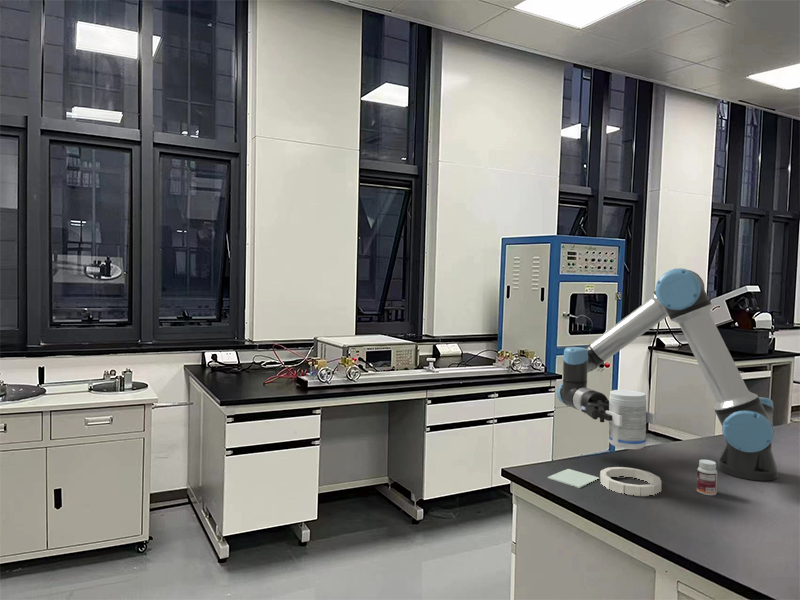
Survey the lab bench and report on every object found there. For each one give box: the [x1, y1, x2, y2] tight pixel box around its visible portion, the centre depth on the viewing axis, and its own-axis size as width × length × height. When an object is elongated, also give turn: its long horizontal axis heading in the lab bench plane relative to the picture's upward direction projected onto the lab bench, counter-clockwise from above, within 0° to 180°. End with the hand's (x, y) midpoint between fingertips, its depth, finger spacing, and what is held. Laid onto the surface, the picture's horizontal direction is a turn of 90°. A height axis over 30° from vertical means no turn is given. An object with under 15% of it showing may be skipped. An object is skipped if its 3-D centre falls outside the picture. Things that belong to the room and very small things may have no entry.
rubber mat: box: [547, 468, 600, 489], centre depth 161 cm, size 10×11×1 cm
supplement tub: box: [608, 389, 647, 450], centre depth 156 cm, size 10×10×15 cm
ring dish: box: [599, 466, 663, 497], centre depth 157 cm, size 16×16×2 cm
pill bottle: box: [696, 459, 718, 496], centre depth 152 cm, size 5×5×8 cm
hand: (637, 420), depth 152 cm, fingers closed on supplement tub, 9 cm apart
